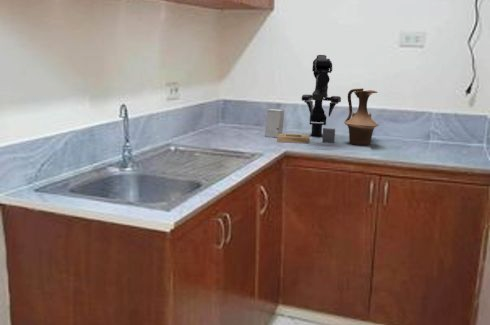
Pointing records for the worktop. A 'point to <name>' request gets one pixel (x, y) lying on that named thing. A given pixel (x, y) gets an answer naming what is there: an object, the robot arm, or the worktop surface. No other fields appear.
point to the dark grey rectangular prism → (328, 135)
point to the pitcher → (360, 119)
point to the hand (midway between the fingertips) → (320, 115)
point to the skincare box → (274, 122)
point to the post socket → (293, 138)
